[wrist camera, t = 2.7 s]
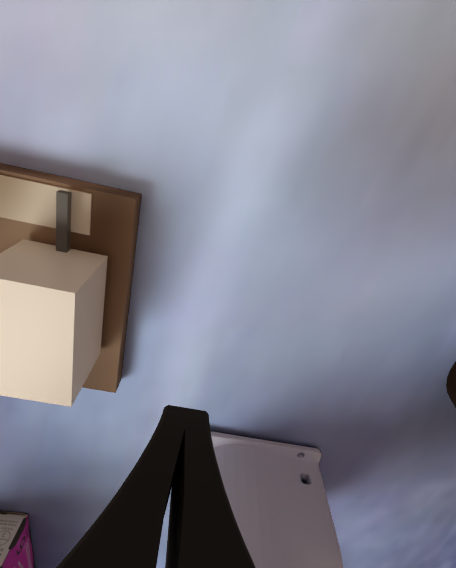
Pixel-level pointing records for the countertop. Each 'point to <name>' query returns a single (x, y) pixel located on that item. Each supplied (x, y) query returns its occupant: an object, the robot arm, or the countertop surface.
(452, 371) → the coffee mug
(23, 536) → the candy bar box
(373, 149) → the countertop surface
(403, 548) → the countertop surface
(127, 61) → the countertop surface
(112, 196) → the frame
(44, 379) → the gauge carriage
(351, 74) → the countertop surface
